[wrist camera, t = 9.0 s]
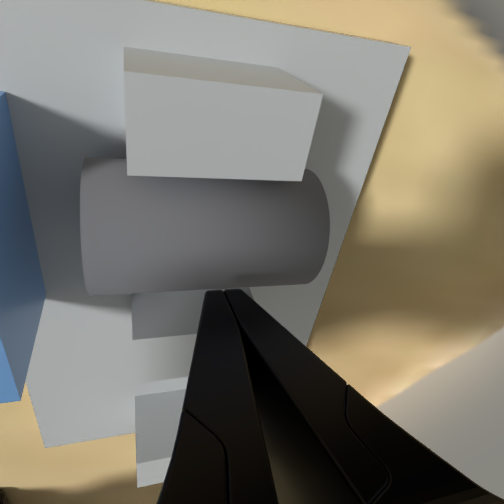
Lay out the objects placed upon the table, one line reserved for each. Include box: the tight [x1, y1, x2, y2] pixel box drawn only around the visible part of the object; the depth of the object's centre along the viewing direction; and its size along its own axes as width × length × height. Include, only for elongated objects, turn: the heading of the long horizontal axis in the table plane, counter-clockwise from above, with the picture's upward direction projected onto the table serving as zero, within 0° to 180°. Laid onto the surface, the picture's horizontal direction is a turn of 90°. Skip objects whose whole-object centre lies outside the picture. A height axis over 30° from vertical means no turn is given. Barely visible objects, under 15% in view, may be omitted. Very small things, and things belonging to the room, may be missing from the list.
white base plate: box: [0, 0, 411, 488], centre depth 13 cm, size 18×12×5 cm, turn 170°
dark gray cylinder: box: [80, 157, 330, 296], centre depth 10 cm, size 6×4×4 cm, turn 80°
